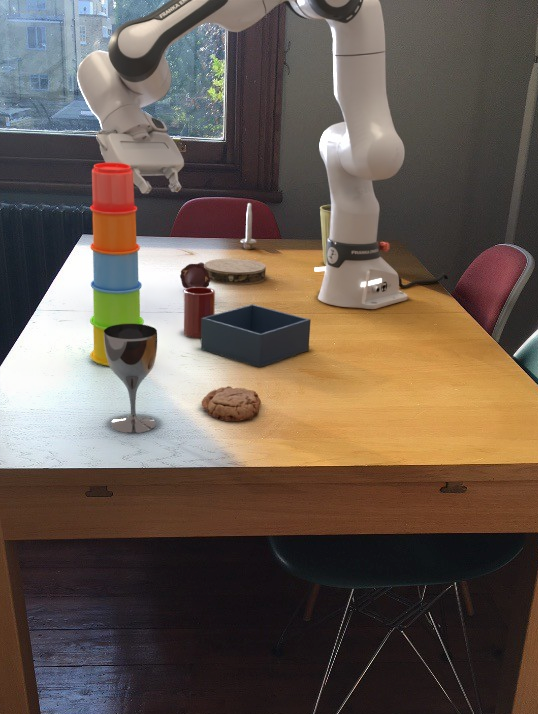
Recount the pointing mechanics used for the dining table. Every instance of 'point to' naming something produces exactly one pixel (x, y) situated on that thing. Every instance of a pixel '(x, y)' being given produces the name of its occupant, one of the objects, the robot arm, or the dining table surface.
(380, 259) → the robot arm
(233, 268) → the wood slice
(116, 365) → the metal goblet
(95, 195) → the stacking cups
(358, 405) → the dining table surface
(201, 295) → the canister
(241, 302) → the dining table surface
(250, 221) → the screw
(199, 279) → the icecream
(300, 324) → the tote
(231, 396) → the cookie
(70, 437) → the dining table surface
